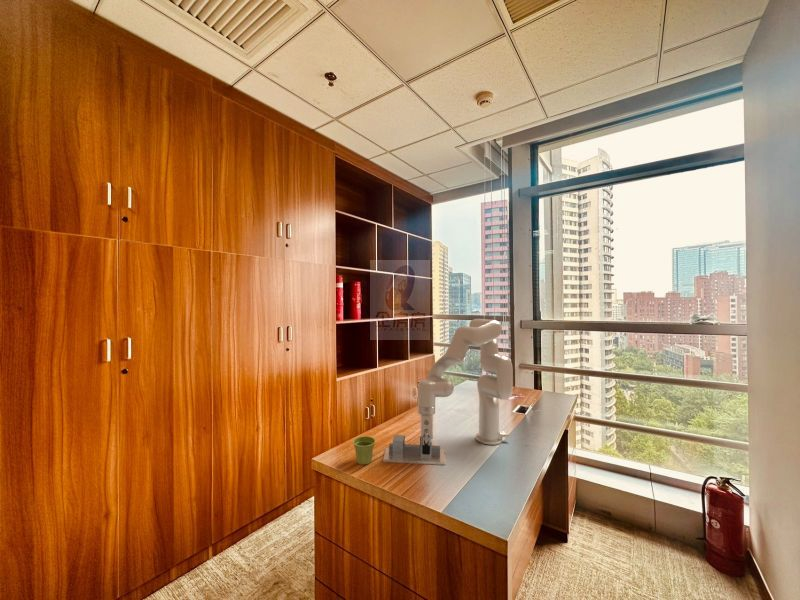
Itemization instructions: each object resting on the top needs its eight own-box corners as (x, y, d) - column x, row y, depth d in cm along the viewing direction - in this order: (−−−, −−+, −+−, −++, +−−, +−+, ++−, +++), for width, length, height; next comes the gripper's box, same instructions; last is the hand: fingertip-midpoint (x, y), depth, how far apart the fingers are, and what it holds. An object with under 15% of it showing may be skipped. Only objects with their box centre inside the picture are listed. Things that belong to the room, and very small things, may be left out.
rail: (443, 452, 141) (443, 434, 141) (445, 465, 130) (445, 445, 130) (386, 449, 143) (386, 431, 143) (383, 461, 132) (383, 442, 132)
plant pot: (366, 469, 126) (366, 448, 126) (348, 463, 131) (348, 442, 131) (379, 459, 134) (379, 439, 134) (362, 454, 139) (362, 434, 139)
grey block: (431, 452, 139) (431, 436, 139) (431, 458, 133) (431, 442, 133) (419, 451, 139) (420, 435, 139) (419, 458, 133) (419, 441, 133)
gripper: (435, 416, 127) (435, 459, 127) (434, 403, 145) (434, 440, 145) (417, 416, 128) (416, 458, 128) (418, 402, 145) (417, 439, 145)
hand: (426, 448), depth 136 cm, fingers open, 9 cm apart
